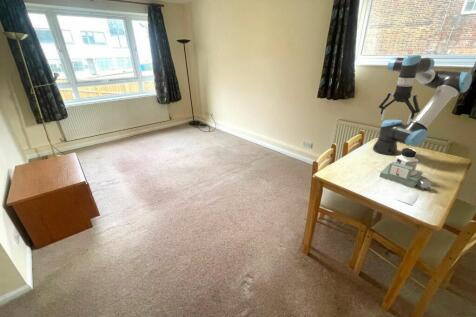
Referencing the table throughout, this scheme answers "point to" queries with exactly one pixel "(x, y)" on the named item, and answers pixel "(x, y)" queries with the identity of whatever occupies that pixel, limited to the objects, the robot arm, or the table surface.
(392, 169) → the scale
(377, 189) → the table surface
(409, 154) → the container
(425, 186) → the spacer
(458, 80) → the robot arm
